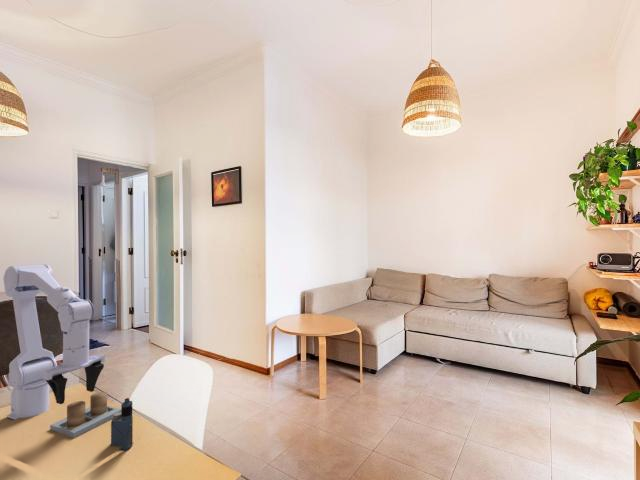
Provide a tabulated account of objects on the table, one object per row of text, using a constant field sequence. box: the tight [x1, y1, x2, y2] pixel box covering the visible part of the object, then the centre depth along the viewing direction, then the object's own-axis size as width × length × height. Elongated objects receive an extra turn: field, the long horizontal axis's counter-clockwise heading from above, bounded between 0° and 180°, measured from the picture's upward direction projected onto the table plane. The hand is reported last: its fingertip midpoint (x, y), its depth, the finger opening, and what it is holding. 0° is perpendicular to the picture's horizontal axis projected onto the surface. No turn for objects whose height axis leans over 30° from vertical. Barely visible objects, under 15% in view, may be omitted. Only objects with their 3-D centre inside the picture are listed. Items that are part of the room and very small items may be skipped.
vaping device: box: [110, 397, 134, 452], centre depth 82 cm, size 3×5×12 cm, turn 78°
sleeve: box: [66, 400, 86, 430], centre depth 89 cm, size 4×4×6 cm
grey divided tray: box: [49, 404, 121, 439], centre depth 92 cm, size 10×13×2 cm
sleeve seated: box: [89, 391, 108, 418], centre depth 95 cm, size 4×4×6 cm
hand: (75, 396), depth 89 cm, fingers open, 7 cm apart
